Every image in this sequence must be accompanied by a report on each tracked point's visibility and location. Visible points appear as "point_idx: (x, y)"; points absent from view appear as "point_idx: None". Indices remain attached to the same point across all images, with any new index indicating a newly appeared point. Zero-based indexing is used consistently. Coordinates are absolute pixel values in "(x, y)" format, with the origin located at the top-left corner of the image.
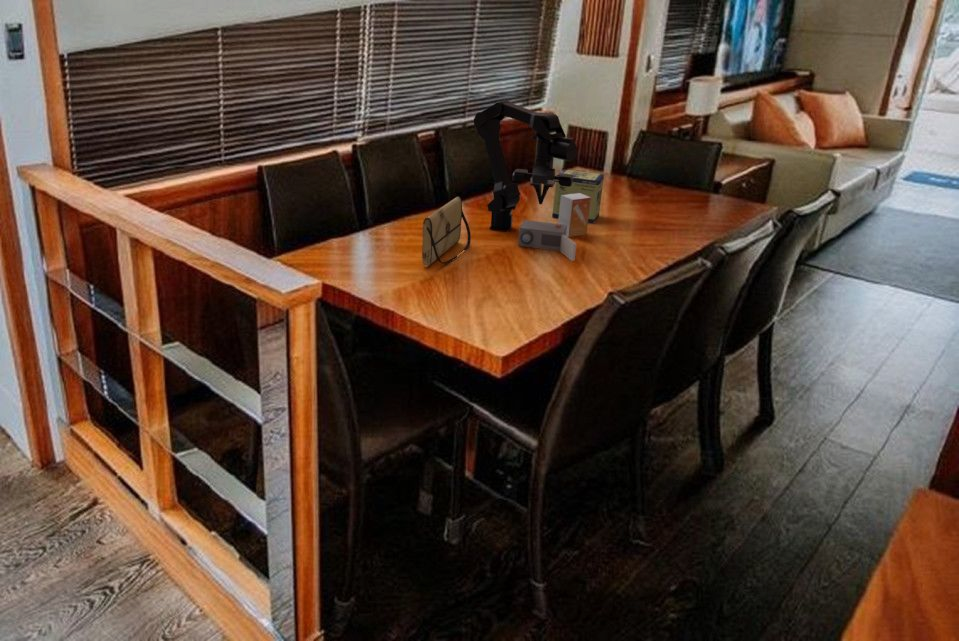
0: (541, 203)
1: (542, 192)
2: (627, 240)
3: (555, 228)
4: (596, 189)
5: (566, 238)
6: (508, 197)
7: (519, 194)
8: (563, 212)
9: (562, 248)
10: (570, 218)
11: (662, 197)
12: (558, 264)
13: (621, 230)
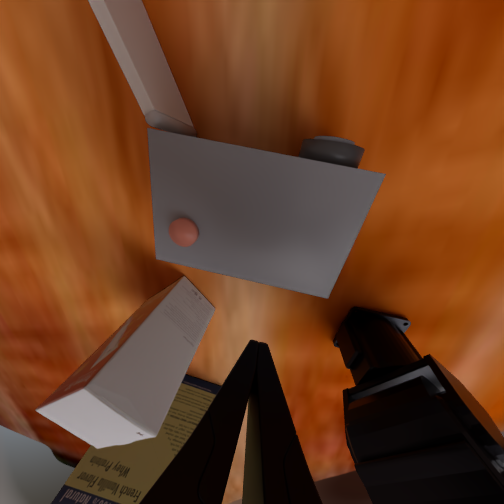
0: (251, 343)
1: (230, 459)
2: (54, 271)
3: (193, 196)
4: (81, 464)
5: (123, 40)
6: (457, 442)
7: (362, 465)
8: (173, 348)
9: (179, 108)
10: (151, 313)
11: (85, 442)
12: None
13: (88, 329)
